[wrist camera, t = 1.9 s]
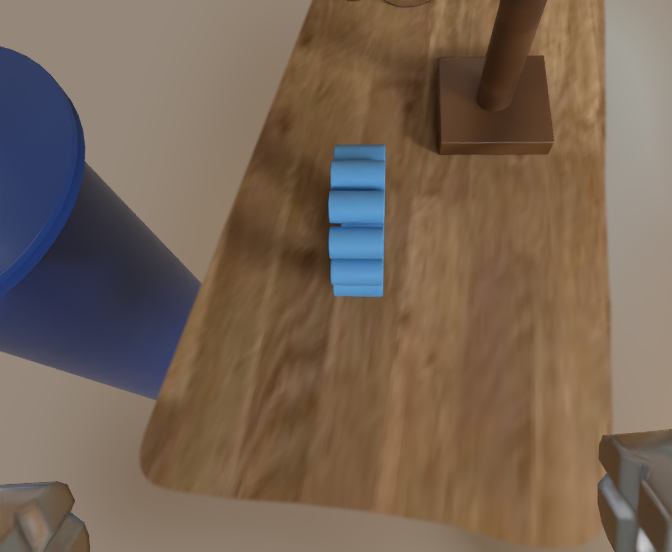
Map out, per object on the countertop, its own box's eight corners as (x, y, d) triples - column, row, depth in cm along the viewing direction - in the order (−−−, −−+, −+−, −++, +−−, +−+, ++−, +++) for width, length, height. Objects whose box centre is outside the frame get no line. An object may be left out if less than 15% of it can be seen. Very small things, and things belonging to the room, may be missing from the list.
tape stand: (342, 155, 39) (318, -39, 24) (346, 72, 42) (327, -147, 27) (548, 154, 38) (657, -53, 23) (538, 69, 40) (630, -165, 26)
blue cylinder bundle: (382, 313, 34) (383, 261, 26) (338, 312, 35) (324, 260, 26) (384, 194, 38) (386, 113, 29) (344, 194, 38) (333, 114, 29)
